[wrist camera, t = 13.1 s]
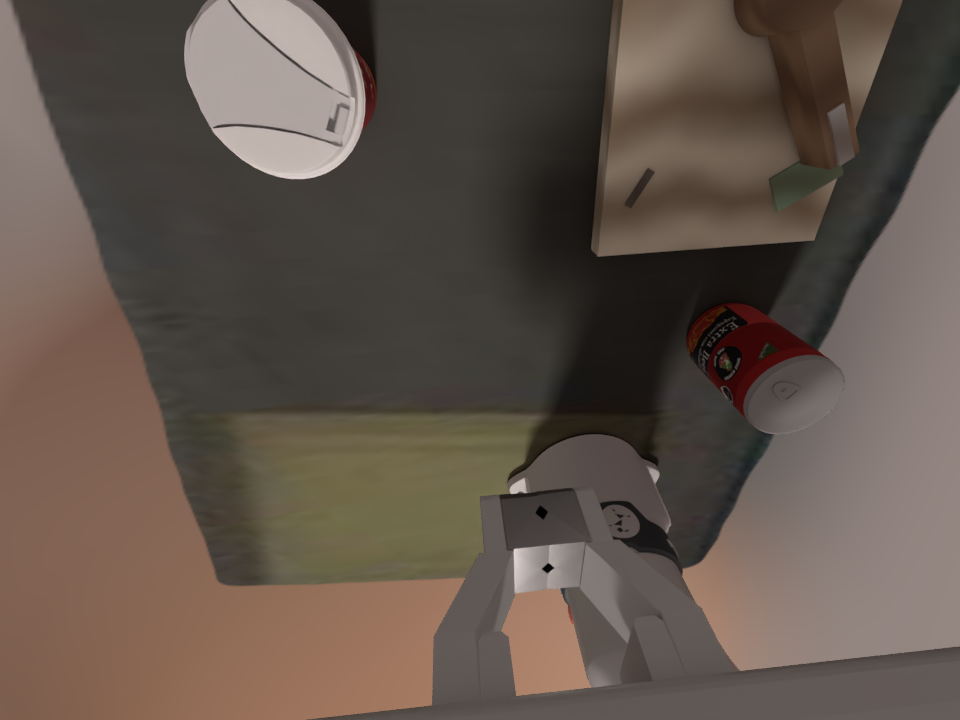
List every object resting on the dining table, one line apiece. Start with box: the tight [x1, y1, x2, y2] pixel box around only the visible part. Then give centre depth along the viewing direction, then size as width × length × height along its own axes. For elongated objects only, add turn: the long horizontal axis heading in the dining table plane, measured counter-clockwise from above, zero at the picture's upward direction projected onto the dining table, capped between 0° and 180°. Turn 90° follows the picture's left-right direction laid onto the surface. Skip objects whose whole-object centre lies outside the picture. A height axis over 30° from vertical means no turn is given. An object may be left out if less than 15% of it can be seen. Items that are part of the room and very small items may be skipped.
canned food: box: [687, 303, 845, 434], centre depth 39 cm, size 8×8×11 cm
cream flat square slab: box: [591, 0, 903, 257], centre depth 32 cm, size 20×19×2 cm
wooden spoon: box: [734, 0, 860, 170], centre depth 28 cm, size 14×5×4 cm, turn 36°
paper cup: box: [184, 0, 377, 179], centre depth 24 cm, size 8×8×14 cm
